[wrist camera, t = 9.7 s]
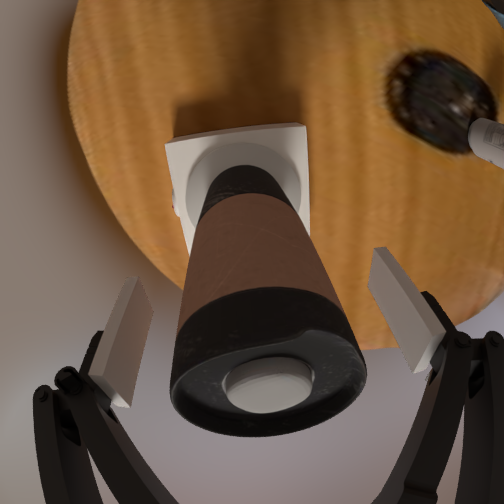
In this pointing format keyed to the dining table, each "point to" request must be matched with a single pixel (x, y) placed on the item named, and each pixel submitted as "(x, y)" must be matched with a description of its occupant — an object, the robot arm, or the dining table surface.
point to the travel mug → (259, 318)
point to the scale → (232, 154)
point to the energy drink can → (487, 140)
